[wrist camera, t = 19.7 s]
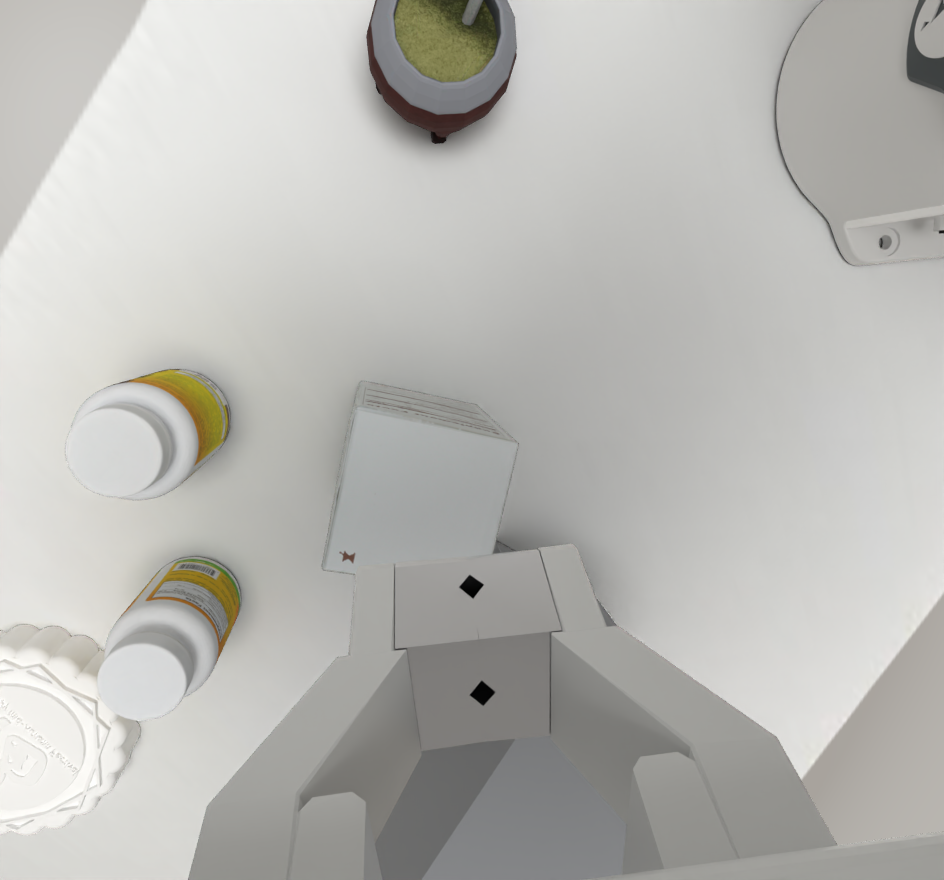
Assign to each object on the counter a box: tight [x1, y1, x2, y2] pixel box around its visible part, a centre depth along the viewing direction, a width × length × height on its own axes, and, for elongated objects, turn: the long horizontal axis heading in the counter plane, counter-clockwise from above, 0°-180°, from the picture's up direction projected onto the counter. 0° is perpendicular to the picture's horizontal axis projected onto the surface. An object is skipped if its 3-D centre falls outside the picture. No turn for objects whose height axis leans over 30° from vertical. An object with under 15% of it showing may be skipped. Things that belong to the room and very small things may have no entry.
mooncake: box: [0, 624, 140, 835], centre depth 39 cm, size 12×12×4 cm
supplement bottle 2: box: [97, 557, 241, 721], centre depth 36 cm, size 5×5×10 cm
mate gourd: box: [366, 0, 517, 144], centre depth 30 cm, size 8×8×15 cm
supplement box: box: [322, 381, 519, 575], centre depth 35 cm, size 7×7×13 cm
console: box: [375, 541, 627, 880], centre depth 37 cm, size 8×24×16 cm, turn 148°
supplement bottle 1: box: [65, 369, 230, 500], centre depth 34 cm, size 6×6×10 cm
